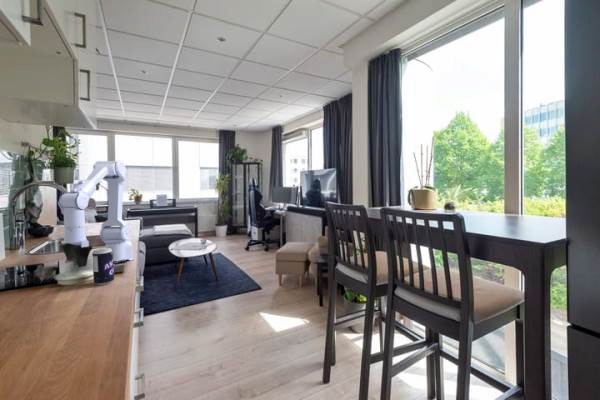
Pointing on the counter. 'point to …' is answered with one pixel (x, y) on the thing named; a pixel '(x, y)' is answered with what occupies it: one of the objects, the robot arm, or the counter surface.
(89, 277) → the stand
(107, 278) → the beverage can
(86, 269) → the housing
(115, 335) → the counter surface
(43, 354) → the counter surface
